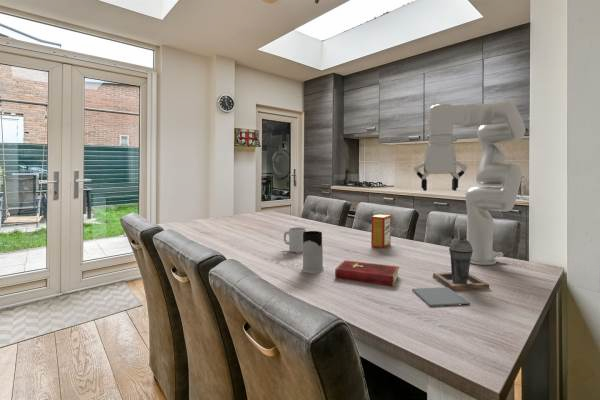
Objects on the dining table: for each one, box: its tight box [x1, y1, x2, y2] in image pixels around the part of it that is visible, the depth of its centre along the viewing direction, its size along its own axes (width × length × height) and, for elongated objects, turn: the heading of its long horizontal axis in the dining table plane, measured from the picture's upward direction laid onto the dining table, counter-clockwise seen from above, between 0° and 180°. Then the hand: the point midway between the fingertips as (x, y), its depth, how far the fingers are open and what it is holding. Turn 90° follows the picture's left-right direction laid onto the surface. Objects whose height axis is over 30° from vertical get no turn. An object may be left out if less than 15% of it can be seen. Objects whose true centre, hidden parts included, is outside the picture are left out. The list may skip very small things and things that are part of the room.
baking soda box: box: [370, 213, 392, 249], centre depth 159 cm, size 10×6×16 cm
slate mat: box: [411, 286, 471, 307], centre depth 95 cm, size 12×12×1 cm
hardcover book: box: [334, 260, 400, 287], centre depth 114 cm, size 12×21×4 cm, turn 64°
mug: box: [283, 226, 307, 254], centre depth 153 cm, size 12×8×11 cm
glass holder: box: [301, 230, 325, 274], centre depth 125 cm, size 9×14×15 cm, turn 160°
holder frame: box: [432, 271, 490, 291], centre depth 107 cm, size 13×13×2 cm
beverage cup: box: [448, 225, 473, 284], centre depth 106 cm, size 7×7×20 cm
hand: (439, 190), depth 109 cm, fingers open, 9 cm apart
